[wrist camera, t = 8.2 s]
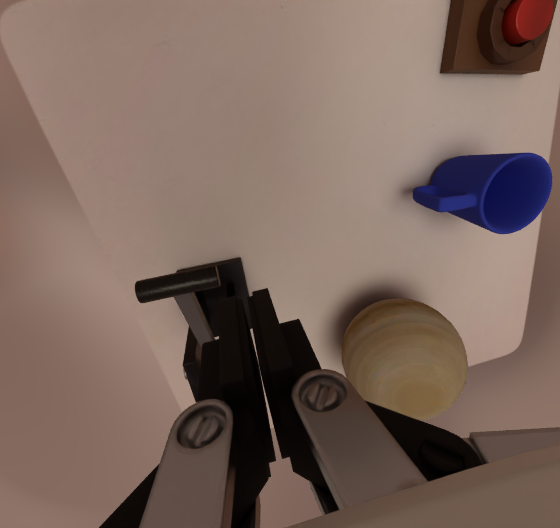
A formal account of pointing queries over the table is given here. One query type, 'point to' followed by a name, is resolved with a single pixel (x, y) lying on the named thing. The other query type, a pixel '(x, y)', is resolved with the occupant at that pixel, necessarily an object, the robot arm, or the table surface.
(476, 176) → the mug
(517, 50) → the button block
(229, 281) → the switch bracket
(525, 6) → the power button
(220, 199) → the table surface
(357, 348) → the decorative ball
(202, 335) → the switch lever
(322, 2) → the table surface
